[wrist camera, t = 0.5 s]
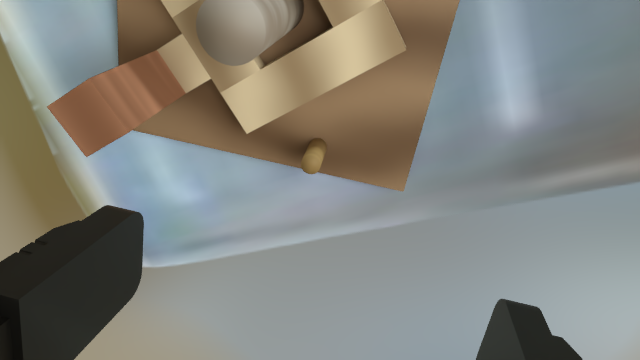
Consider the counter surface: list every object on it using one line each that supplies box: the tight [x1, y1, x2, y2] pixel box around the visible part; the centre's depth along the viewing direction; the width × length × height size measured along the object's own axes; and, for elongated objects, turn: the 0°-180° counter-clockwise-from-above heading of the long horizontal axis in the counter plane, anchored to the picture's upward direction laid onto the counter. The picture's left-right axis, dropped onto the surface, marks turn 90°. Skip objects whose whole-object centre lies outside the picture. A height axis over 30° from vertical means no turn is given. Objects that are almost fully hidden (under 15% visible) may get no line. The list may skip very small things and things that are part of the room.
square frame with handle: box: [47, 0, 406, 157], centre depth 25 cm, size 16×11×8 cm
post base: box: [117, 0, 460, 191], centre depth 24 cm, size 20×20×10 cm
